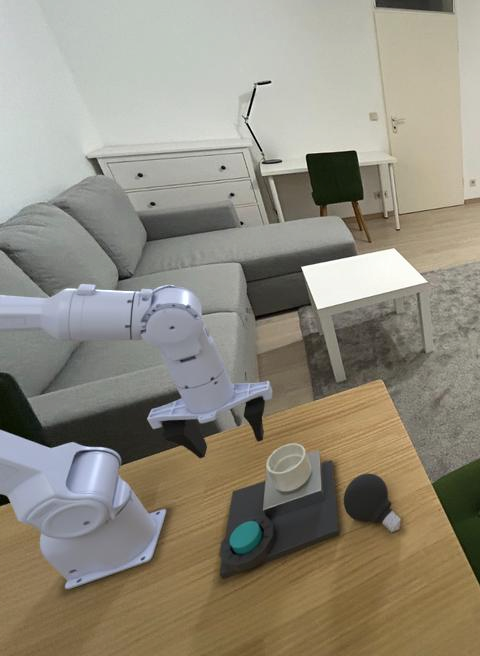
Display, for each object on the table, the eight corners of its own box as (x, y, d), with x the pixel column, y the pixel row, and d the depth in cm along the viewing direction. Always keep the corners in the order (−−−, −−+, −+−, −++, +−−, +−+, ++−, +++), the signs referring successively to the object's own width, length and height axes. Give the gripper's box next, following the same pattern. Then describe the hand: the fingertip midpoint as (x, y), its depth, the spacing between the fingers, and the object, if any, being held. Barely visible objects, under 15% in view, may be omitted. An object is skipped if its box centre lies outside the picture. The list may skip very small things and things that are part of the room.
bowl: (273, 498, 58) (265, 478, 56) (275, 469, 62) (267, 450, 60) (312, 485, 60) (305, 466, 57) (311, 458, 64) (304, 439, 62)
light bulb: (391, 533, 53) (340, 484, 55) (378, 557, 55) (329, 509, 58) (419, 501, 58) (371, 457, 61) (406, 524, 61) (360, 481, 64)
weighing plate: (270, 526, 58) (262, 509, 56) (273, 481, 65) (266, 465, 63) (326, 506, 61) (321, 490, 59) (324, 465, 67) (319, 449, 65)
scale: (221, 586, 51) (213, 574, 50) (235, 496, 62) (229, 484, 61) (340, 540, 56) (336, 528, 55) (333, 465, 67) (329, 453, 66)
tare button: (231, 558, 52) (227, 552, 51) (235, 533, 55) (231, 526, 54) (261, 547, 53) (258, 541, 52) (263, 523, 56) (260, 517, 55)
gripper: (123, 410, 47) (168, 483, 53) (257, 378, 51) (284, 448, 58) (142, 374, 52) (181, 444, 59) (261, 348, 57) (285, 416, 64)
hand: (232, 444), depth 59 cm, fingers open, 7 cm apart
